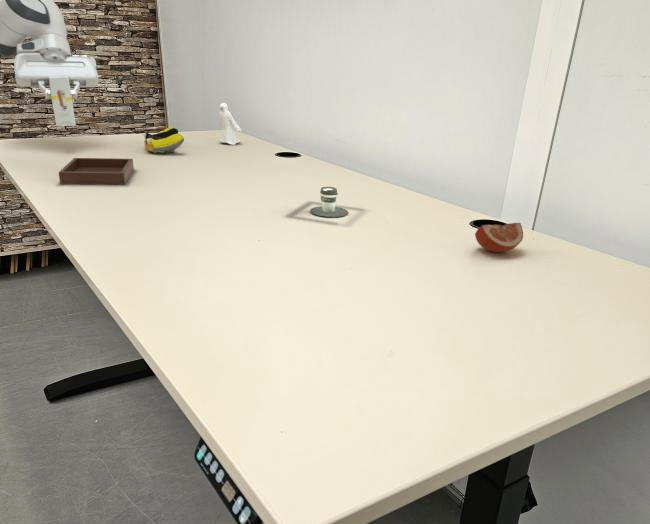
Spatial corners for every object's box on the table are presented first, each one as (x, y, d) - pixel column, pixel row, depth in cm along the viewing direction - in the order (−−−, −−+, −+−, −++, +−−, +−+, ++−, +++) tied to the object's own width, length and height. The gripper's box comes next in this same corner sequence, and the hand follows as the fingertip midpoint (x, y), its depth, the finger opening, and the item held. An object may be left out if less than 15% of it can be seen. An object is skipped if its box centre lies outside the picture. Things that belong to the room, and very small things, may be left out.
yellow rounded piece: (178, 145, 176) (143, 145, 173) (177, 126, 173) (141, 126, 170) (185, 155, 163) (148, 156, 160) (184, 134, 161) (146, 134, 158)
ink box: (54, 121, 160) (48, 74, 155) (74, 121, 162) (68, 74, 157) (55, 126, 153) (48, 77, 148) (76, 126, 155) (69, 77, 150)
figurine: (212, 142, 182) (211, 101, 177) (231, 140, 188) (230, 100, 183) (230, 146, 179) (229, 104, 173) (248, 143, 184) (248, 102, 179)
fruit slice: (504, 243, 107) (509, 216, 105) (529, 255, 101) (535, 227, 99) (465, 247, 104) (470, 219, 102) (489, 260, 98) (494, 231, 96)
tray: (60, 184, 129) (58, 172, 128) (75, 168, 143) (73, 157, 142) (125, 184, 131) (123, 173, 130) (133, 169, 145) (132, 158, 144)
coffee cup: (364, 209, 123) (366, 185, 121) (346, 224, 113) (348, 198, 110) (310, 201, 126) (311, 178, 124) (288, 215, 116) (289, 190, 114)
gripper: (94, 64, 165) (103, 105, 161) (13, 62, 156) (20, 105, 153) (94, 47, 159) (103, 89, 156) (9, 44, 151) (17, 89, 147)
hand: (61, 97), depth 154 cm, fingers closed on ink box, 5 cm apart
